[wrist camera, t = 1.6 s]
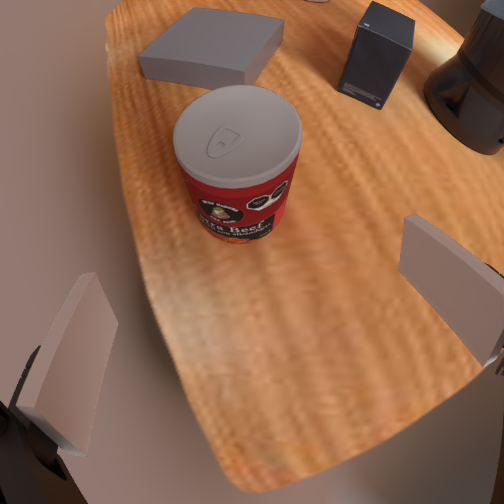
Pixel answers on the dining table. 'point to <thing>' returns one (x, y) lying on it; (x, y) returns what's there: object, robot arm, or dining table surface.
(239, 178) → the canned food
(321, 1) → the milk bottle
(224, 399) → the dining table surface
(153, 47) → the slate stand
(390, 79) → the small box
